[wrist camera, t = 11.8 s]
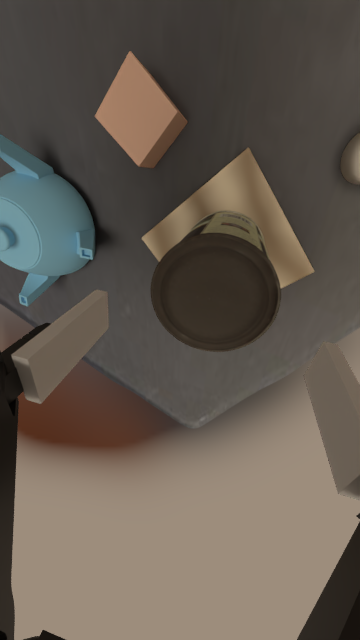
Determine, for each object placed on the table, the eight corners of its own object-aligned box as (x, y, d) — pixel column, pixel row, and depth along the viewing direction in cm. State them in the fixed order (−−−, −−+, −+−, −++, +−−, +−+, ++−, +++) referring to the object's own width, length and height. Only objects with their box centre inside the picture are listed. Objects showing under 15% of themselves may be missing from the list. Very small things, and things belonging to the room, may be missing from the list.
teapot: (53, 133, 30) (-30, 112, 21) (126, 241, 35) (84, 263, 26) (-6, 204, 36) (-88, 212, 27) (62, 286, 41) (11, 316, 32)
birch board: (248, 148, 26) (248, 147, 25) (311, 267, 31) (314, 271, 29) (145, 235, 33) (141, 238, 32) (208, 321, 38) (207, 326, 37)
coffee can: (192, 293, 35) (165, 353, 23) (178, 218, 30) (135, 246, 18) (267, 286, 32) (281, 351, 20) (265, 201, 27) (281, 221, 15)
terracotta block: (149, 72, 25) (130, 50, 21) (188, 122, 26) (177, 111, 22) (117, 125, 28) (94, 116, 24) (153, 168, 29) (138, 166, 25)
